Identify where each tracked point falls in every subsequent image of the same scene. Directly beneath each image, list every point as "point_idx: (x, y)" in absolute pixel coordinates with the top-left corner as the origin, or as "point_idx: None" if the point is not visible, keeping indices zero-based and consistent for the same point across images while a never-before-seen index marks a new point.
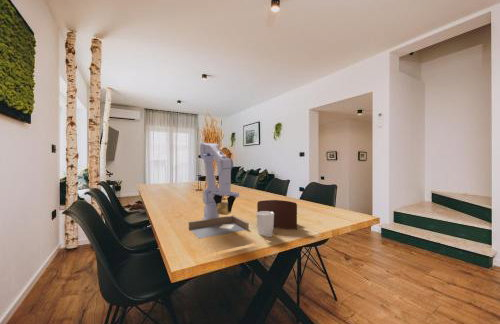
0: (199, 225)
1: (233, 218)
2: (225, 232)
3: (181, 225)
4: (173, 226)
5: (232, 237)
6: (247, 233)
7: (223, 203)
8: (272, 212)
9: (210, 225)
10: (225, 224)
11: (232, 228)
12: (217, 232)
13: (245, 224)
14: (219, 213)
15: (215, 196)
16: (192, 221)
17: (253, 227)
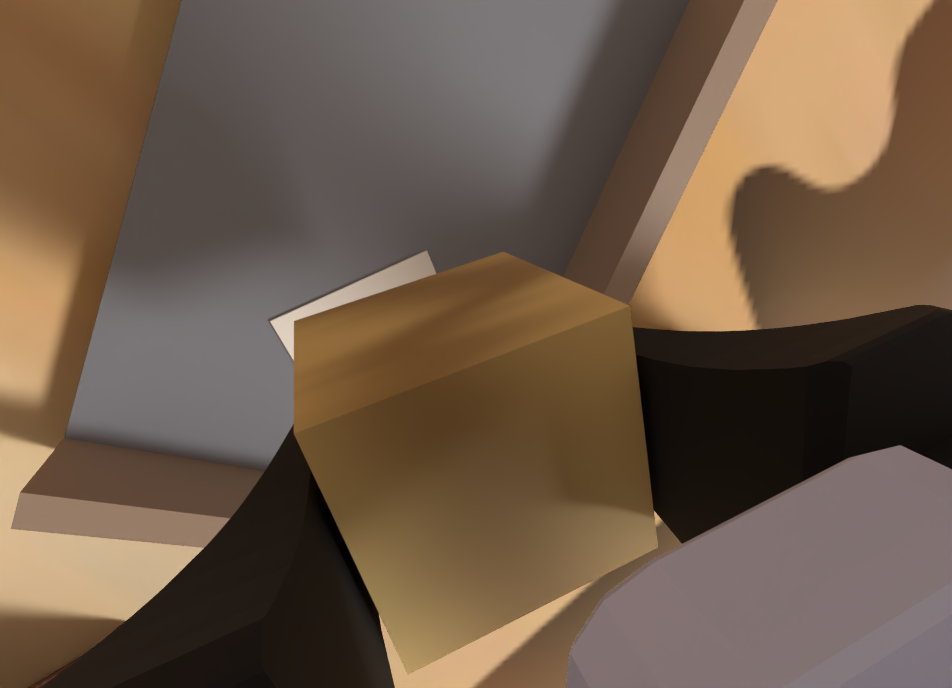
0: (650, 113)
1: None
2: (199, 155)
3: (841, 93)
4: (890, 12)
5: (15, 126)
6: (4, 392)
7: (495, 449)
8: None
9: (571, 248)
10: None
11: (265, 345)
12: (292, 80)
13: (71, 481)
14: (462, 269)
15: (947, 448)
16: (755, 20)
17: (158, 582)
